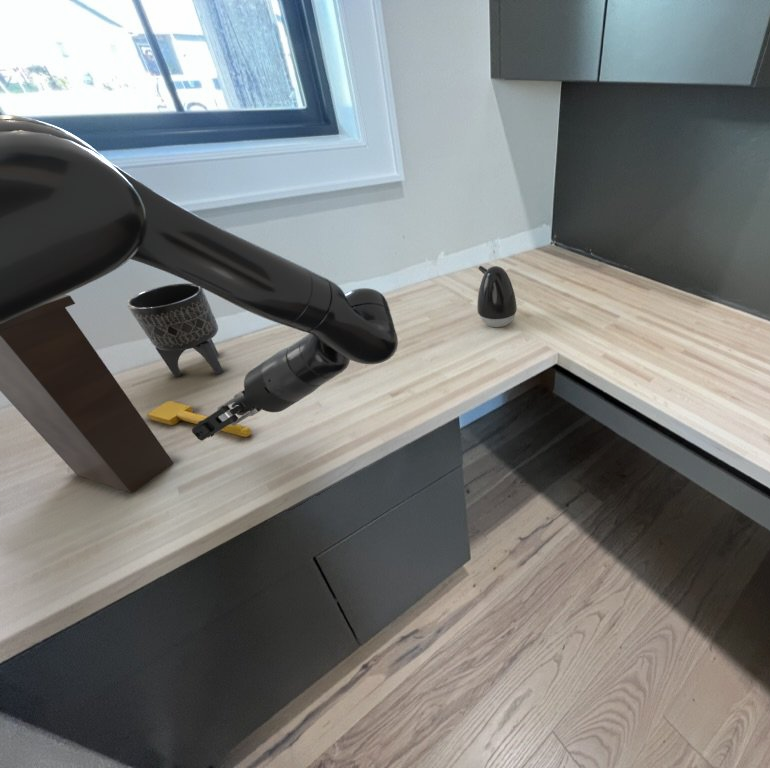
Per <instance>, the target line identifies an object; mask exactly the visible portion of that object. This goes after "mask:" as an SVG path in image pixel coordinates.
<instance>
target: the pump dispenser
mask: <svg viewBox="0 0 770 768" xmlns="http://www.w3.org/2000/svg"><path fill="white" fill-rule="evenodd" d="M478 270H479V271H480V272H481V273H482V274H483V276H482V279H481V281H480V285H479V289H478V295H477V308H476V309H477V313H478V315H479V317H480V319H481V321H482V322H483V324H485V325H487V326H489V327H492V328H502V327H505V326H507V325H510V323H511V322H512V321H513V320H514V318H515V315H516V313H517V310H518V307H517V300H516V294H515V290H514V286H513V284H512V281H511V279H510V277H509V275H508V273H507V271H506V270H505V269H504V268H502V267H501V266H497V265H493V266H490V267H489V268H488V269H487V268H485V267H484V266H482V265H479V266H478Z"/></svg>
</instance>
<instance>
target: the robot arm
mask: <svg viewBox="0 0 770 768" xmlns="http://www.w3.org/2000/svg"><path fill="white" fill-rule="evenodd" d="M129 260H132V261H135V262H138V263H141V264H143V265H147V266H149V267H151V268H152V267H153V268H155V269H157V270H160V271H163V272H165V273H168V274H170V275H172V276H175V277H177V278H180V279H182V280H184V281H187V282H188V283H190V284H195V285H197V286H199V287H201V288H202V289H203V290H205V291H207V292H209V293H211V294H213V295H215V296H217V297H219V298H221V299H223V300H224V301H227V302H229V303H231V304H232V305H235V306H237V307H239V308H241V309H242V310H245V311H247V312H249V313H250V314H254V315H256V316H258V317H261V318H263V319H266V320H268V321H270V322H273V323H276V324H280V325H283V326H286V327H288V328H292V329H295V330H297V331H301V332H303V333H306V335H304V336H303V337H302V338H300V339H298V340H297V341H296V342H295V343H293V344H292V345H290V346H287V347H286V348H283V349H281V350H280V351H278V352H276V353H275V354H273V355H272V356H270V357H269V358H267V359H266V360H264V361H263V362H261V363H260V364H258V365H256V366H255V367H254V368H252V369H251V370H250V371H248V372H247V373H246V375H245V377H244V380H243V389H242V390H241V391H239V392H237V393H236V394H235V395H234V396H233V398H231V399H230V400H228V401H226V402H225V403H222V404H221V405H219V406H218V407H217V409H216V411H215V412H213V413H212V414H210V415H208V416H207V418H205V419H204V420H203V421H202V420H201V421H199V422H198V424H195V425H196V426H194V427H193V428H192V429H191V432H192V435H194V436H195V437H196V438H197V440H200V441H204V440H206V439H207V438H212V437H214V436H215V434H217V433H220V432H222V431H221V429H223V428H224V427H226V426H228V425H231V426H233V425H235V424H239V423H241V422H242V421H244V420H245V419H246V418H249V417H252V416H254V415H256V414H257V413H259V412H261V411H264V412H267V413H281V412H282V411H284V410H286V409H288V408H290V407H292V406H293V405H294V404H296V403H298V402H300V401H301V400H303V399H304V398H306V397H308V396H309V395H311V394H312V393H313V392H315V391H316V390H317V389H319V388H320V387H321V386H322V385H324V384H325V383H327V382H329V381H330V380H332V379H334V378H335V377H337V376H338V375H340V374H341V373H343V372H344V371H345V370H346V369H347V368H348V367H349V365H350V361H352V362H355V363H358V364H363V365H379V364H381V363H382V364H383V363H385V362H387V361H388V360H390V359H391V358H392V357H393V356H394V355H395V354H396V352H397V349H398V344H399V339H398V335H397V331H396V328H395V325H394V320H393V317H392V314H391V313H392V312H391V309H390V306H389V304H388V301H387V298H386V297H385V296H384V295H383V293H381V292H380V291H379V290H377V289H374V288H370V287H369V288H368V287H361V288H356V289H352V290H350V291H347V292H346V293H345V292H344V290H343V289H342V288H341V287H340V286H339V285H338V284H337V283H335V282H334V281H332V280H330V279H328V278H326V277H325V276H323V275H321V274H319V273H317V272H315V271H312V270H310V269H308V268H307V267H304V266H303V265H300V264H298V263H296V262H294V261H291V260H290V259H287V258H285V257H283V256H281V255H279V254H277V253H275V252H272V251H270V250H268V249H266V248H263V247H262V246H259V245H257V244H255V243H253V242H250V241H249V240H247V239H244V238H243V237H240V236H238V235H236V234H234V233H232V232H230V231H227V230H225V229H223V228H222V227H220V226H217V225H215V224H213V223H212V222H209V221H207V220H206V219H204V218H202V217H200V216H198V215H197V214H194V213H193V212H192V211H190V210H188V209H186V208H184V207H182V206H180V205H179V204H177V203H176V202H173V201H171V200H170V199H168V198H166V197H165V196H163V195H162V194H160V193H158V192H156V191H155V190H153V189H152V188H150V187H148V186H147V185H145V184H144V183H143V182H141V181H139V180H138V179H136V178H135V177H133V176H132V175H130V174H129V173H127V172H125V171H124V170H122V168H120V167H119V166H117V165H115V164H114V163H112V162H111V161H109V160H108V159H106V157H104V156H103V155H102V154H101V153H100V152H98V151H97V150H96V148H93V147H92V146H91V145H90V144H88V142H86V141H84V140H83V139H81V138H79V137H78V136H76V135H75V134H72V133H71V132H69V131H67V130H65V129H63V128H62V127H58V126H56V125H53V124H51V123H48V122H44V121H40V120H38V119H35V118H30V117H27V116H26V117H25V116H20V115H14V114H0V325H2V324H4V323H6V322H8V321H10V320H12V319H14V318H16V317H18V316H21V315H23V314H25V313H27V312H29V311H31V310H33V309H35V308H37V307H39V306H42V305H44V304H46V303H48V302H50V301H52V300H54V299H56V298H58V297H60V296H63V295H68V294H69V293H71V292H73V291H75V290H78V289H80V288H82V287H84V286H86V285H89V284H90V283H92V282H94V281H96V280H99V279H101V278H103V277H105V276H107V275H109V274H110V273H112V272H115V271H116V270H117V269H119V268H121V267H122V266H124V265H125V264H126V263H127V262H129ZM230 405H231V408H230ZM238 416H240V417H238Z"/></svg>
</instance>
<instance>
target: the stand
mask: <svg viewBox="0 0 770 768" xmlns="http://www.w3.org/2000/svg"><path fill="white" fill-rule="evenodd" d="M74 305H76V302H75V301H74V299H73V298H72V296H71V295H69V294H65V295H63V296H60V297H58V298H56V299H54V300H52V301H50V302H48V303H46V304H44V305H42V306H39V307H37V308H35V309H33V310H31V311H29V312H27V313H25V314H23V315H21V316H18V317H16V318H14V319H12V320H10V321H8V322H6V323H4V324H2V325H0V392H1V394H3V396H4V397H5V398H6V399H7V400H8V402H10V403H11V405H12V406H13V407H14V408H15V409H16V410H17V411H18V412H19V413H20V414H21V415H22V417H23V418H24V419H25V420H26V421H27V422H28V423H29V424H30V425H31V426H32V427H33V429H34V430H35V431H36V432H37V433H38V434H39V435H40V436H41V438H42V439H43V440H44V441H45V442H46V443H47V444H48V446H50V448H51V449H52V450H53V451H54V452H55V453H56V454H57V456H59V457H60V458H61V460H62V461H63V462H64V463H65V464H66V465H67V466H68V467H69V468H70V470H71V471H72V472H74V474H75V475H76V476H79V477H82V478H84V479H88V480H90V481H93V482H96V483H99V484H102V485H105V486H108V487H111V488H114V489H117V490H120V491H123V492H126V493H128V494H129V493H130V494H133V493H135V492H136V491H137V490H139V489H140V488H142V487H143V486H144V485H146V484H147V483H149V482H150V481H151V480H152V479H154V478H155V477H156V476H158V475H159V474H161V473H162V472H163V471H164V470H166V469H167V468H168V467H170V466H171V465H173V464H174V461H173V460H172V459H171V457H170V456H169V454H168V453H167V451H166V449H165V448H164V447H163V445H162V444H161V443H160V441H159V440H158V438H157V436H155V433H153V431H152V430H151V428H150V427H149V425H148V424H147V422H146V421H145V419H144V418H143V417H142V415H141V414H140V412H139V411H138V409H137V408H136V407H135V405H134V404H133V403H132V401H131V400H130V398H129V396H128V395H127V394H126V392H125V391H124V390H123V388H122V387H121V385H120V383H118V381H117V380H116V378H115V377H114V376H113V374H112V372H111V370H110V369H109V368H108V367H107V365H106V364H105V362H104V361H103V359H102V358H101V356H100V355H99V354H98V352H97V351H96V349H95V348H94V347H93V345H92V344H91V342H90V341H89V339H88V338H87V336H86V335H85V334H84V332H83V331H82V329H81V328H80V327H79V326H78V325H79V324H77V322H76V321H75V319H74V318H73V317H72V315H71V314H70V312H69V311H68V310H67V308H68V307H70V306H71V307H72V306H74Z"/></svg>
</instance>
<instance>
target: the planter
mask: <svg viewBox="0 0 770 768" xmlns="http://www.w3.org/2000/svg"><path fill="white" fill-rule="evenodd" d="M126 307H127V308H128V310H129V312H130V313H131V314H132V316H133V317H134V318H135V320H136V322H138V324H139V325H138V326H140V328H141V329H142V331H143V332H144V334H145V335H146V336H147V338H148V339H149V341H150V342H151V344H152V345H153V346H154V347H155V349H156V351H157V353H158V355H159V356H160V357H161V359H162V360H163V362H164V363H165V364H166V366H167V368H168V369H169V370H170V372H171V373H172V375H173V376H174V378H178V377H181V376H182V372H181V369H180V367H179V360H180V357H181V356H182V355H183V353H184V352H185V351H186V350H191V349H193V350H195V351H196V352H197V353H198V354H200V355H201V357H203V358H204V360H205V361H206V362H207V363H208V365H209V366H210V367H211V369H212V371H213V373H214V374H216V375H220V374H222V373H223V372H224V369H223V367H222V365H221V363H220V361H219V359H218V357H219V352H218V349H217V348H216V346H215V345H216V344H215V343H214V341H213V338H214V337H216V335H217V334H218V332H219V324H218V323H217V320H216V318H215V316H214V313H213V311H212V308H211V306H210V303H209V301H208V298H207V296H206V294H205V292H204V289H203V288H201V287H199V286H197V285H195V284H193V283H191V282H188V283H185V282H184V283H173V284H168V285H163V286H159V287H154V288H151V289H147V290H145V291H142V292H139V293H138V294H136V295H134V296H132V297H131V298H130V299H128V300H127V302H126Z"/></svg>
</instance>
